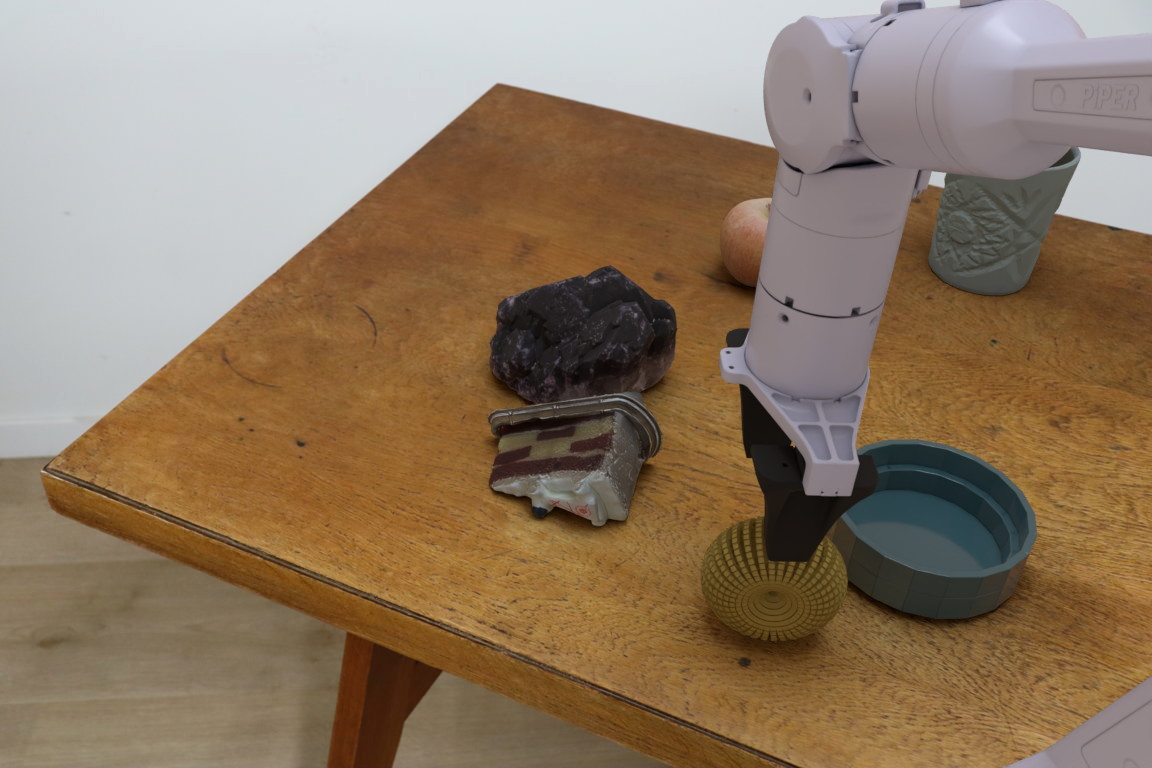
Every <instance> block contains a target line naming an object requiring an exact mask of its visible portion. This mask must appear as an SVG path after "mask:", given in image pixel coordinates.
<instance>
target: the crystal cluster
mask: <svg viewBox="0 0 1152 768" xmlns="http://www.w3.org/2000/svg"><path fill="white" fill-rule="evenodd" d="M676 314H677V313H676V310H675V308H674V307H673V306H672V305H671V304H670V303H669V302H668V301H667V300H665V299H656V298H654V297H653V296H651V294H649V293H648V292H647V291H646V290H645V289H643V288H642V287H641V286H639V285H638V284H637V283H635V282H634V281H633V280H632V279H630V278H629V277H628V276H626V275H625V274H624V273H622V271H620V270H619V269H617V268H616V267H614V266H612V265H611V264H609V265H605V266H603V267H599V268H596V269H595V270H592V271H591V272H590V273H589V274H587V275H586V276H583V275H581V274H579V275H576V276H572V277H569V278H565V279H562V280H559V281H555V282H551V283H547V284H543V285H540V286H537V287H534V288H531V289H527V290H525V291H521V292H520V293H517V294H515V295H510V296H507V297H505V298H504V299H502V301H500V302H499V303H498V304H497V311H496V316H495V322H496V329H495V333H494V334H493V336H492V337H491V339H490V342H489V348H490V356H489V369H490V370H491V371H492V373H493V375H494V376H495V377H496V379H498V380H500V381H501V382H502V383H503V384H505V385H507V387H508V388H510V389H511V390H513V391H515V392H517V394H518V395H519V396H520V397H521V398H523V399H525V400H527V401H529V402H531V403H534V404H540V403H541V404H544V403H553V402H557V401H564V400H569V399H575V398H581V397H588V396H594V395H596V396H599V395H600V396H602V395H605V394H607V395H610V394H616V393H621V392H625V391H629V392H630V393H631V392H640V393H641V392H643V391H644V390H646V389H649V388H652V387H653V386H655V385H656V384H658V383H659V381H661V380H662V378H664V376H665V375H666V374H667V372H668V371H669V370H670V368H671V366H672V364H673V362H674V361H675V356H676V346H677V345H676V343H677V339H676V338H677V332H678V322H677V315H676Z"/></svg>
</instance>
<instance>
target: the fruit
mask: <svg viewBox="0 0 1152 768" xmlns="http://www.w3.org/2000/svg"><path fill="white" fill-rule="evenodd" d="M770 193H771V196H772V195H773V190H772V191H770ZM771 201H772V197H763V198H753V199H747V200H744V201H742V202H739V203H738V204H736V205H735V206H734V207H733V208H732V209H730V210H729V212H728V213H727V215H726V216H725V218H724V220H723V222H722V224H721V227H720V232H719V251H720V256H721V259H722V260H723V261H722V262H723V264H724V266H725V267H726V269H727V271H728V272H729V274H730V275H731V277H733V278H734V279H735V280H736V281H737V282H739V283H740V284H742V285H744V286H747V287H751V288H757V282H758V276H759V271H760V264H761V259H762V253H763V247H764V241H765V236H766V230H767V224H768V218H769V212H770V207H771Z"/></svg>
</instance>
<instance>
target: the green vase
mask: <svg viewBox="0 0 1152 768" xmlns="http://www.w3.org/2000/svg"><path fill="white" fill-rule="evenodd" d="M1081 158H1082V151H1081V149H1080V147H1071V148H1070V149H1069V150H1068V152H1067V153H1066V154H1065V155H1064V156H1063V157H1062V158H1061V159H1059V160H1058V161H1057V162H1056V163H1054V164H1053V165H1052V166H1050V167H1049V168H1047V169H1045V170H1044V171H1042V172H1040V173H1038V174H1035V175H1033V176H1030V177H1027V178H1023V179H1016V180H1005V179H996V178H987V177H979V176H969V175H960V174H951V173H945V176H944V187H943V189H942V192H941V194H940V196H939V197H940V198H939V203H938V204H939V208H938V209H937V213H936V223H935V226H934V228H933V232H932V238H931V243H930V249H929V253H928V265H929V268H930V269H931V271H932V272H933V273H934V274H935V275H936V276H937V277H938V278H939V279H940V280H941V281H943V282H944V283H946V284H948V285H950V286H951V287H954V288H957V289H959V290H962V291H965V292H968V293H973V294H977V295H984V296H1005V295H1010V294H1014V293H1017V292H1018V291H1020V290H1022V289H1023V288H1024V287H1025V286H1026V285H1027V283H1028V282H1029V280H1030V278H1031V275H1032V273H1033V271H1034V269H1035V266H1036V264H1037V261H1038V259H1039V256H1040V254H1041V246H1042V243H1043V242H1044V240H1045V238H1046V237H1047V235H1048V233H1049V228H1050V226H1051V224H1052V222H1053V219H1054V216H1055V213H1057V211H1058V210H1059V208H1060V206H1061V203H1062V201H1063V198H1064V196H1065V194H1066V191H1067V189H1068V187H1069V185H1070V182H1071V180H1072V178H1073V176H1074V174H1075V172H1076V171H1077V168H1078V165H1079V163H1080V162H1081Z"/></svg>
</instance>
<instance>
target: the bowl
mask: <svg viewBox="0 0 1152 768" xmlns="http://www.w3.org/2000/svg"><path fill="white" fill-rule="evenodd" d="M856 451H857V455H872V457H873V459H874V462H875V465H876V468H877V471H878V474H879V480H878V484H877V487H876V489H875V491H874V493H873V494H872V495H870V496H868V497H866V498H865V499H863V500H861V501H860V502H858V503H857V504H855V505H854V506H852V507H851V508H850V509H848V510H847V511H846V512H845V513H844V514H843V515H842V516H841V517H840V518H839V519H838V520H837V521H836V522H835V523H834V525H833V526H832V527H831V529H830V530H829V531H828V533H827V534H826V536H827V537H828V539H830V541H832V543H833V544H834V545H835V546H836V547H837V550H838V551H839V552H840V554H841V556H842V558H843V561H844V564H845V566H846V570H847V578H848V582H850V583H851V584H853V585H854V586H856V587H857V588H858V589H859V590H860V591H862V592H863V593H864V594H866V595H867V596H868V597H870V598H871V599H874V600H876V601H878V602H881V603H883V604H884V605H887V606H889V607H891V608H893V609H896V610H897V611H900V612H903V613H908V614H912V615H916V616H921V617H925V618H930V619H936V620H947V619H951V620H953V619H955V620H956V619H969V618H973V617H976V616H980V615H982V614H985V613H989V612H992V611H994V610H995V609H997V608H998V607H999V606H1001V605H1002V604H1003V603H1004V602H1006V601H1007V600H1008V599H1010V597H1012V596H1013V595H1014V593H1015V590H1016V588H1017V585H1018V583H1019V581H1020V578H1021V576H1022V574H1023V571H1024V569H1025V567H1026V564H1027V562H1028V560H1029V557H1030V555H1031V552H1032V549H1033V548H1034V545H1035V542H1036V540H1037V537H1038V529H1037V527H1038V526H1037V518H1036V512H1035V511H1034V509H1033V507H1032V506H1031V504H1030V502H1029V500H1028V498H1027V495H1025V493H1024V492H1023V490H1022V489H1021V488H1019V486H1018V485H1017V484H1016V483H1014V481H1013V480H1012V479H1010V478H1009V476H1007V474H1005V473H1004V472H1003V471H1001V470H1000V469H999V468H997V467H995V466H994V465H992V464H990V463H989V462H987V461H985V460H984V459H982V458H981V457H979V456H977V455H975V454H972V453H970V452H967V451H964V450H963V449H959V448H957V447H954V446H951V445H948V444H944V443H939V442H935V441H929V440H925V439H924V440H923V439H916V438H911V439H909V438H903V439H901V438H898V439H897V438H895V439H894V438H893V439H891V438H890V439H884V440H881V441H877V442H873V443H869V444H865V445H863V446H861V447H859V448H858V449H856Z"/></svg>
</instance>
